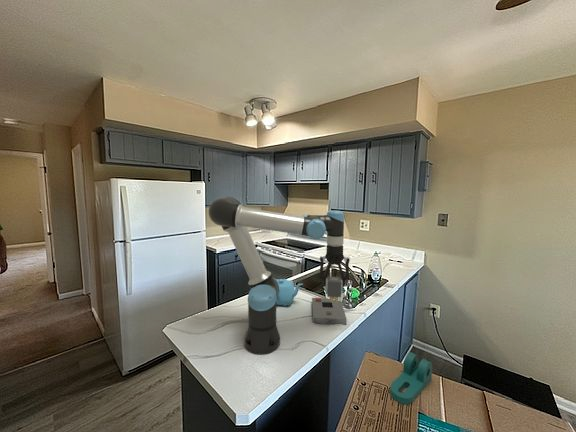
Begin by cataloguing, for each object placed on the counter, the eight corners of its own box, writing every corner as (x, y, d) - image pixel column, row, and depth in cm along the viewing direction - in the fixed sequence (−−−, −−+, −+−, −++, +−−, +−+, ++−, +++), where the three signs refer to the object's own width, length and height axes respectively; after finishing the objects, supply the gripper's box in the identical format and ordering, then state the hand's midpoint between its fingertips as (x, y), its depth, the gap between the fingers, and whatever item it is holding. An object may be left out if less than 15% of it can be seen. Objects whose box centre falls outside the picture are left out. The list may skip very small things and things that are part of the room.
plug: (340, 303, 112) (341, 281, 111) (327, 303, 113) (328, 281, 112) (339, 296, 119) (339, 276, 118) (326, 296, 120) (327, 275, 119)
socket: (346, 325, 120) (346, 317, 119) (313, 323, 121) (313, 316, 120) (340, 303, 142) (340, 297, 141) (311, 302, 143) (312, 296, 142)
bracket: (411, 369, 91) (412, 349, 90) (431, 380, 86) (433, 359, 85) (386, 394, 80) (387, 372, 79) (407, 409, 75) (408, 385, 74)
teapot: (273, 311, 132) (273, 287, 131) (262, 298, 147) (262, 277, 145) (303, 305, 140) (303, 282, 138) (290, 293, 155) (290, 272, 153)
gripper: (354, 243, 116) (353, 290, 119) (313, 242, 118) (313, 288, 120) (357, 247, 109) (355, 297, 111) (314, 245, 110) (313, 295, 113)
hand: (333, 292), depth 116 cm, fingers closed on plug, 6 cm apart
